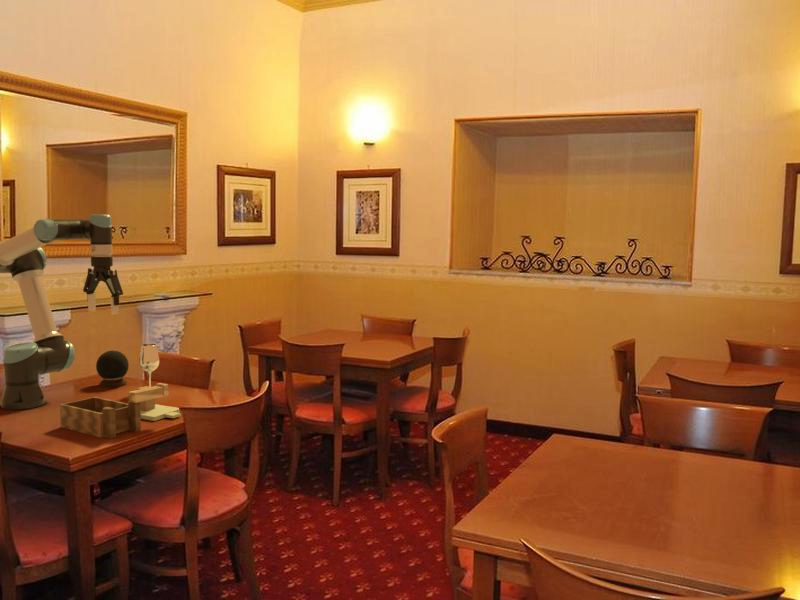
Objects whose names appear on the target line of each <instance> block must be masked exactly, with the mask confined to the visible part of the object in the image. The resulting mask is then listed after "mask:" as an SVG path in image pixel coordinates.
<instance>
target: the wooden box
mask: <svg viewBox="0 0 800 600" xmlns="http://www.w3.org/2000/svg"><path fill="white" fill-rule="evenodd" d="M59 416H60V417H59V418H60V420H59V421H60V428H63V429H67V430H71V431H74V432H77V433H82V434H87V435H89V436H93V437H98V438H107V439H110V440H111V439H116V438H117V434H120V433H123V432H126V431H131V432H135V433H136V432H139V431H142V426H141V425H142V424H141V423H142V421H141V420H142V419H141V414H140V402H138V403H133V402H129V401H127V403H126V402H122V401H117V400H113V399H108V398H103V397H98V396H93V397H88V398H83V399H79V400H74V401H69V402H66V403H60V404H59Z"/></svg>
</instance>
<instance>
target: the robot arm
mask: <svg viewBox="0 0 800 600" xmlns="http://www.w3.org/2000/svg"><path fill="white" fill-rule="evenodd" d="M63 240H64V241H67V240H68V241H71V240H74V241H75V240H90V242H89V244H90V255H91V257H90V266H91V267H89V268H87V275H86V278H85V281H84V282H85V283H84V286H83V289H82V291H83V292H84V293H86V296H87V308H88V309H87V311H88V313H89V312H97V309H96V308H97V306H96V304H97V303H96V290H97V288H98V285H99V284H100V283H101V282H103V283H104V284H105V285H106V286H107V288H108V290H109V292H110V295H111V296H110V307H111V308H110V310H111V311H110V314H111V315H119V314H120V312H119V311H120V309H119V307H120V306H119V305H120V296H122V295H124V292H123V289H122V286H121V283H120V280H119V277H118V272H117V269H111V267H113V266H114V263H113V262H114V261H113V259H114V258H113V256H112V255H113V225H112V217H111V215H110V214H100V213H99V214H93V213H92V214H90V215H89V219H83V218H73V219H72V218H71V219H70V218H69V219H68V218H64V219H63V218H56V219H55V218H44V219H38V220H36V222H35V223H34V225H33V227H32V228H29V229H28V230H27V229H26V230H25V231H23V232H20V234H16V235H14V236H13V237H10V238H9V239H7V240H5V241H1V240H0V274H11V278H12V280H13V281H15V282H17V283H18V286H19V290H20V293H21V297H22V299H23V300H22V301H23V303H24V306H25V310H26V312H27V315H28V319H29V323H30V325H31V330H32V333H33V336H34V340H33V341H31V342H30V341H29V342H21V343H16V344H11V345H10V346H8V347H6V348H5V350H4V352H3V366H4V367H3V368H4V390H3V392H2V395H1V398H0V407H1V408H2V409H3V410H17V411H18V410H26V409H33V408H38V407H41V406H43V405H45V402H46V401H45V399H46V398H45V395H44V393H43V390H42V388H41V386H40V376H41V375H46V374H51V373H56V372H57V373H60V372H61V371H65V370H68V369H69V368H71V367H72V365H73V364H74V361H75V357H76V352H75V351H76V350H75V347H74V345H73V343H71V342H70V341H69V340H65V338H64V335H63V334H62V333H60V332H58V328H57V325H56V322H55V318H54V314H53V312H52V309H51V306H50V305H51V304H50V301H49V299H48V296H47V295H48V294H47V293H46V288H45V286H44V283H43V278H42V276H43V274H44V269H45V268H46V266H47V263H46V262H47V256H46V253H45V251H44V250H43V248H42V247H44V246H45V245H49V244H50V243H53V242H55V241H63Z"/></svg>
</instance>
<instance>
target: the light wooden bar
mask: <svg viewBox="0 0 800 600" xmlns="http://www.w3.org/2000/svg"><path fill="white" fill-rule="evenodd" d="M168 396H169V384H168V383H163V382H158V383H156V385H154V386H151V387H149V388H144V389H140V390H137V389H136V390H132V391H129V392H128V402H133V403H138V402H142V401H147V400H151V399H155V400H156V399H158V398H162V397H168Z"/></svg>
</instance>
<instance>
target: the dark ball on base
mask: <svg viewBox="0 0 800 600" xmlns="http://www.w3.org/2000/svg"><path fill="white" fill-rule="evenodd" d="M129 366H130V365H129V360H128V357H127V356H126V355H125V354H124V353H123V352H121V351H119V350H108V351H107V350H106V351H105V352H103V353H102V354H101V355H100V356H99V357H98V358H97V360H96V365H95V369H96V372H97V374H98V376H99V377H100V378H101V379H102V380H101V381H100V382H98V387H100V388H104V387H105V388H106V389H110V388H112V387H115V388H120V386H122V387H124V385H125V386H127V385H126V384H127V383H128V382H127V381H126V379H124V377H125V376H126V374H127V373H128V371H129Z"/></svg>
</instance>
